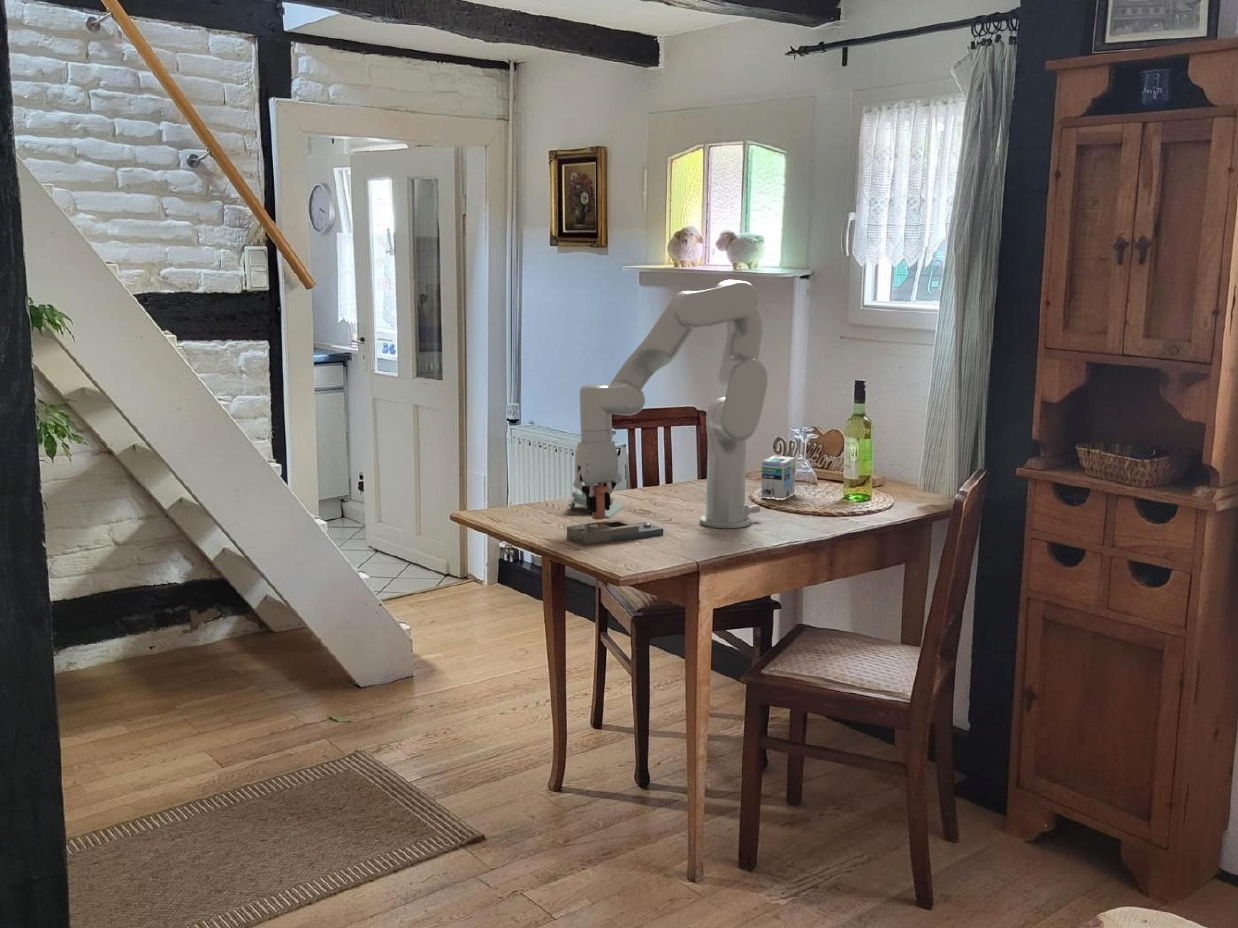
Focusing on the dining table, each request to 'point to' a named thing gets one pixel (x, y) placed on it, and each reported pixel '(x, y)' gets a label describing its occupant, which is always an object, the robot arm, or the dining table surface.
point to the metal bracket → (581, 500)
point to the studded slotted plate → (610, 532)
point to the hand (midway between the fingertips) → (598, 509)
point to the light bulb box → (778, 476)
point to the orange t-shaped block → (600, 501)
